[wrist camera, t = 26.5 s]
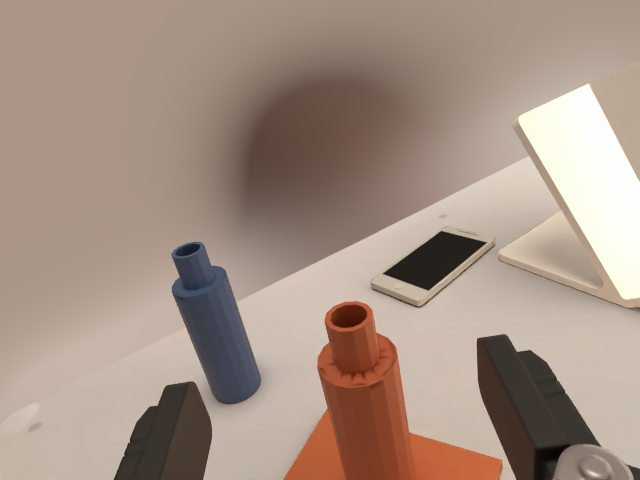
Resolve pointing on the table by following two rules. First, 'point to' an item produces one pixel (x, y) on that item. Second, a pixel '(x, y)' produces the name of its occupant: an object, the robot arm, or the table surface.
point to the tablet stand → (587, 188)
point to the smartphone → (432, 265)
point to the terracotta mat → (428, 455)
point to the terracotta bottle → (365, 396)
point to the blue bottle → (214, 324)
